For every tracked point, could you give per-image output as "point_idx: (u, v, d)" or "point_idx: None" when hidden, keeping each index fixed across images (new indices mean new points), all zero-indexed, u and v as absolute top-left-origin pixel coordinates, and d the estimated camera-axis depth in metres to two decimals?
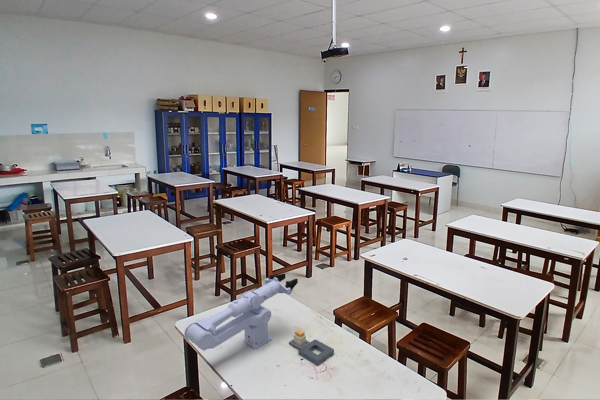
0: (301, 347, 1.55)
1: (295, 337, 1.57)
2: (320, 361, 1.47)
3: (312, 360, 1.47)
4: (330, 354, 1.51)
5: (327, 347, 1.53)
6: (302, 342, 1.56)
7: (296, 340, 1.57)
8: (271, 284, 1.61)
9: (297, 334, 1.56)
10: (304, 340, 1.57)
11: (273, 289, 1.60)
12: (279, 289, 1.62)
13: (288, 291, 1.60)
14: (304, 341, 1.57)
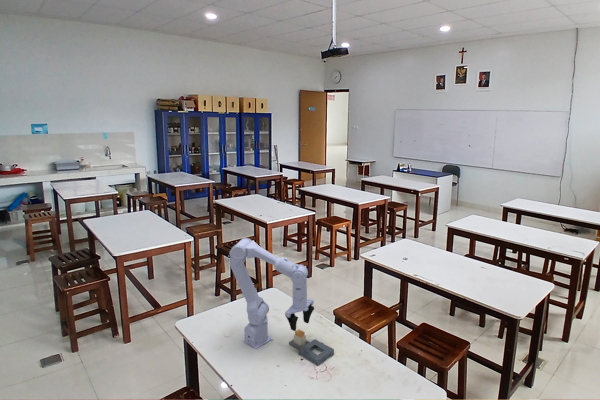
0: (301, 347, 1.55)
1: (295, 337, 1.57)
2: (320, 361, 1.47)
3: (312, 360, 1.47)
4: (330, 354, 1.51)
5: (327, 347, 1.53)
6: (302, 342, 1.56)
7: (296, 340, 1.57)
8: (303, 301, 1.51)
9: (297, 334, 1.56)
10: (304, 340, 1.57)
11: (297, 300, 1.51)
12: (294, 307, 1.52)
13: (287, 313, 1.49)
14: (304, 341, 1.57)
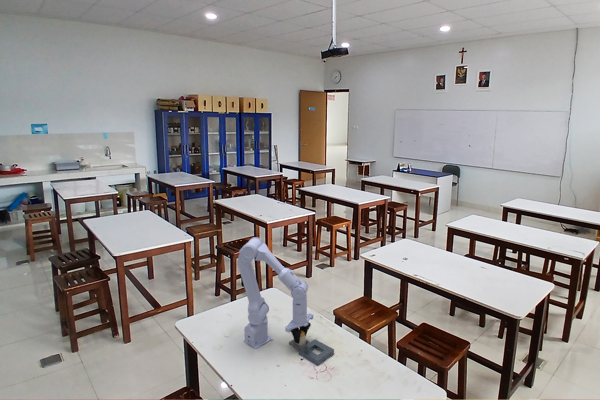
0: (301, 347, 1.55)
1: None
2: (320, 361, 1.47)
3: (312, 360, 1.47)
4: (330, 354, 1.51)
5: (327, 347, 1.53)
6: (302, 342, 1.56)
7: None
8: (303, 317, 1.53)
9: None
10: (304, 340, 1.57)
11: (297, 316, 1.52)
12: (294, 322, 1.54)
13: (287, 328, 1.51)
14: (304, 341, 1.57)
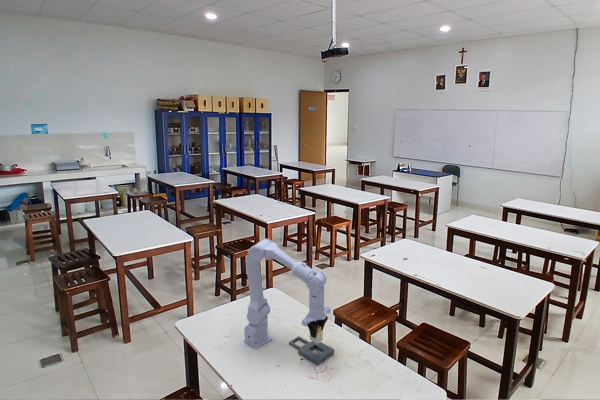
0: (301, 347, 1.55)
1: None
2: (320, 361, 1.47)
3: (312, 360, 1.47)
4: (330, 354, 1.51)
5: (327, 347, 1.53)
6: (319, 337, 1.49)
7: None
8: (320, 310, 1.45)
9: None
10: (321, 335, 1.49)
11: (314, 308, 1.45)
12: (311, 315, 1.46)
13: (303, 322, 1.43)
14: (321, 336, 1.50)
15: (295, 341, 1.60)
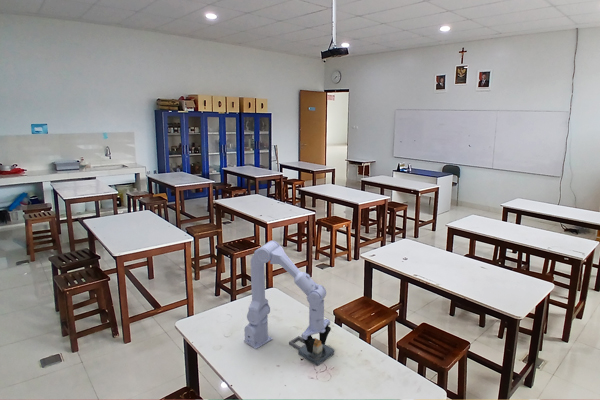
0: (301, 347, 1.55)
1: None
2: (320, 361, 1.47)
3: (312, 360, 1.47)
4: (330, 354, 1.51)
5: (327, 347, 1.53)
6: (319, 351, 1.50)
7: (313, 349, 1.51)
8: (320, 323, 1.46)
9: None
10: (321, 349, 1.51)
11: (314, 322, 1.46)
12: (311, 328, 1.47)
13: (303, 335, 1.45)
14: (321, 350, 1.51)
15: (295, 341, 1.60)
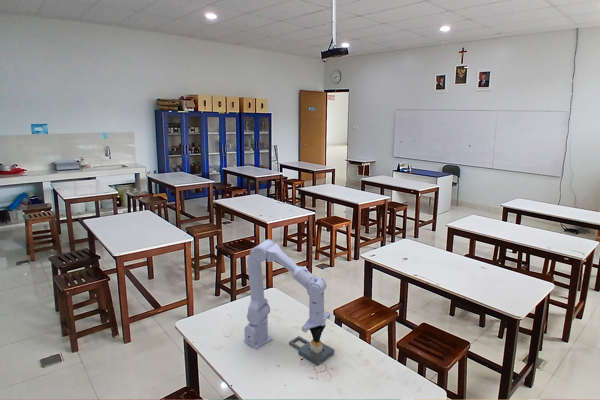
0: (301, 347, 1.55)
1: (311, 346, 1.51)
2: (320, 361, 1.47)
3: (312, 360, 1.47)
4: (330, 354, 1.51)
5: (327, 347, 1.53)
6: (319, 351, 1.50)
7: (313, 349, 1.51)
8: (320, 316, 1.46)
9: (313, 343, 1.50)
10: (321, 349, 1.51)
11: (314, 315, 1.45)
12: (311, 321, 1.47)
13: (303, 328, 1.44)
14: (321, 350, 1.51)
15: (295, 341, 1.60)
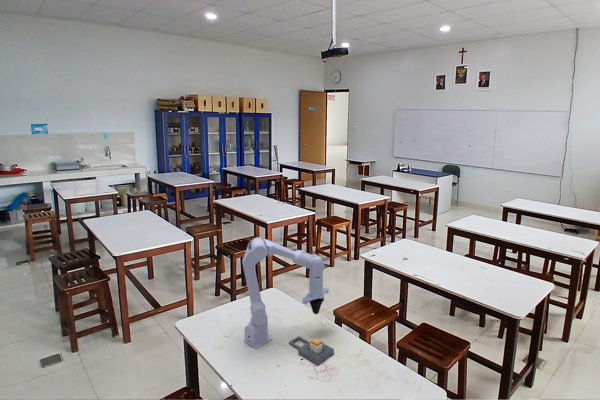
0: (301, 347, 1.55)
1: (311, 346, 1.51)
2: (320, 361, 1.47)
3: (312, 360, 1.47)
4: (330, 354, 1.51)
5: (327, 347, 1.53)
6: (319, 351, 1.50)
7: (313, 349, 1.51)
8: (319, 289, 1.59)
9: (313, 343, 1.50)
10: (321, 349, 1.51)
11: (314, 288, 1.59)
12: (311, 294, 1.60)
13: (304, 300, 1.57)
14: (321, 350, 1.51)
15: (295, 341, 1.60)
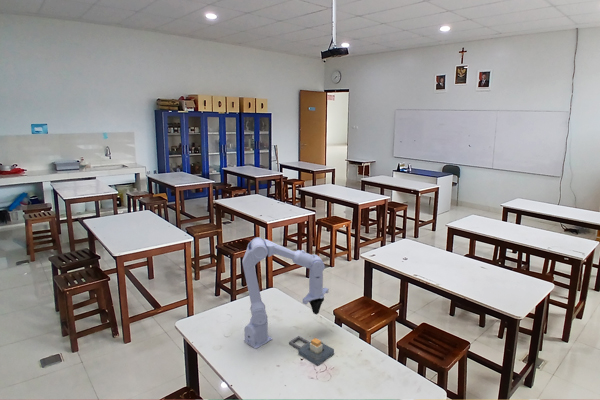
0: (301, 347, 1.55)
1: (311, 346, 1.51)
2: (320, 361, 1.47)
3: (312, 360, 1.47)
4: (330, 354, 1.51)
5: (327, 347, 1.53)
6: (319, 351, 1.50)
7: (313, 349, 1.51)
8: (319, 289, 1.59)
9: (313, 343, 1.50)
10: (321, 349, 1.51)
11: (314, 288, 1.59)
12: (311, 294, 1.60)
13: (304, 300, 1.57)
14: (321, 350, 1.51)
15: (295, 341, 1.60)
